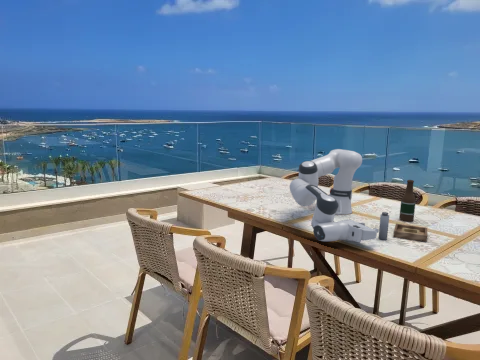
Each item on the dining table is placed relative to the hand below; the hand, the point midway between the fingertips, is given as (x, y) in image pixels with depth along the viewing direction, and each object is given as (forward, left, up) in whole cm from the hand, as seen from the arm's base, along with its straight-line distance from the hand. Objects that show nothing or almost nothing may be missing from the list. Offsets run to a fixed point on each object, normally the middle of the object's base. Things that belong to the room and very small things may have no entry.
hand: (370, 227), depth 174 cm
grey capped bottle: (+5, +7, -7) cm, 11 cm away
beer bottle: (+14, +50, -7) cm, 52 cm away
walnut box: (+17, +20, -7) cm, 27 cm away
